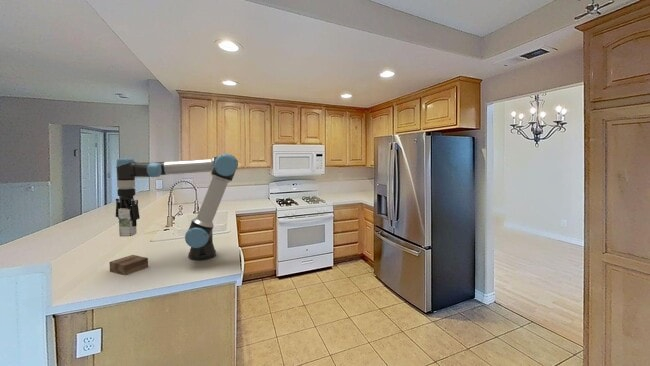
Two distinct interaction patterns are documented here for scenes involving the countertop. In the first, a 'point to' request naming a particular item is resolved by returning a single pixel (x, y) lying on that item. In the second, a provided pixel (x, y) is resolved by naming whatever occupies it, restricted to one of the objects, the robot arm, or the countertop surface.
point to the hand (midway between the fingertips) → (127, 231)
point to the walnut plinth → (128, 264)
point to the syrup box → (124, 222)
